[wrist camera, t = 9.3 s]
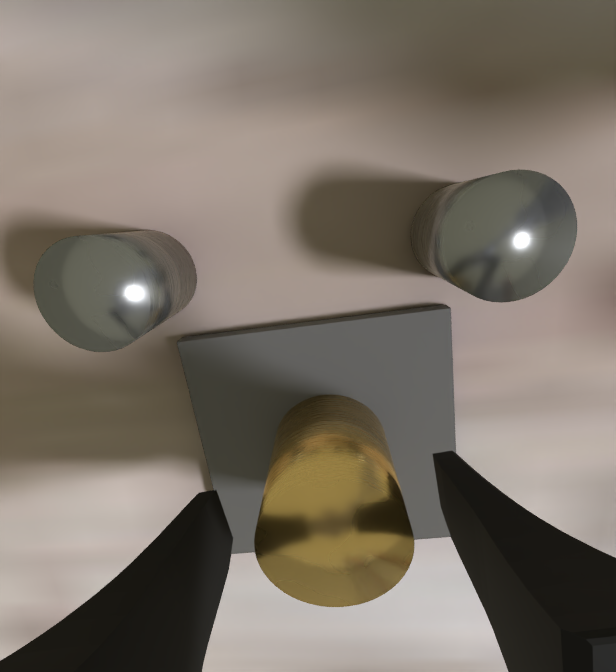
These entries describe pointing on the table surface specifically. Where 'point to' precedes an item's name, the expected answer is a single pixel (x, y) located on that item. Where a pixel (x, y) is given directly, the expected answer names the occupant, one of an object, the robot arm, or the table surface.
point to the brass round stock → (332, 506)
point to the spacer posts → (426, 237)
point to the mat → (324, 379)
